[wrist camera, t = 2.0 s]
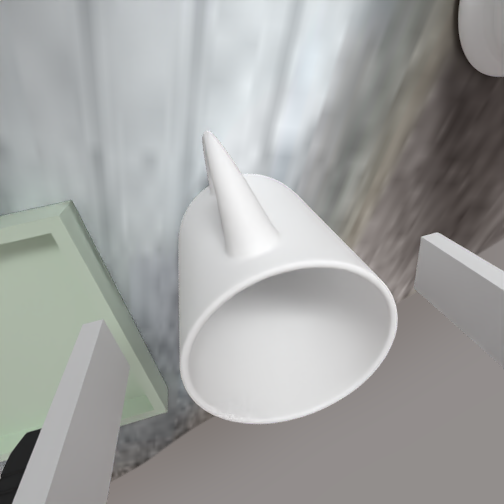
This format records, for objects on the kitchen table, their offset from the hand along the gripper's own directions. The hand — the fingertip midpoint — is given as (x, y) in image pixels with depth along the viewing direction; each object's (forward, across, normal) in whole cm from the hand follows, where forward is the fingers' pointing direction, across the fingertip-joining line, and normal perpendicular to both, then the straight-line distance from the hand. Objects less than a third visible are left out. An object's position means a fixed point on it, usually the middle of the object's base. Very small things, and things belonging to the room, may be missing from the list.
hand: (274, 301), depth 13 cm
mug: (+9, 0, +1) cm, 9 cm away
